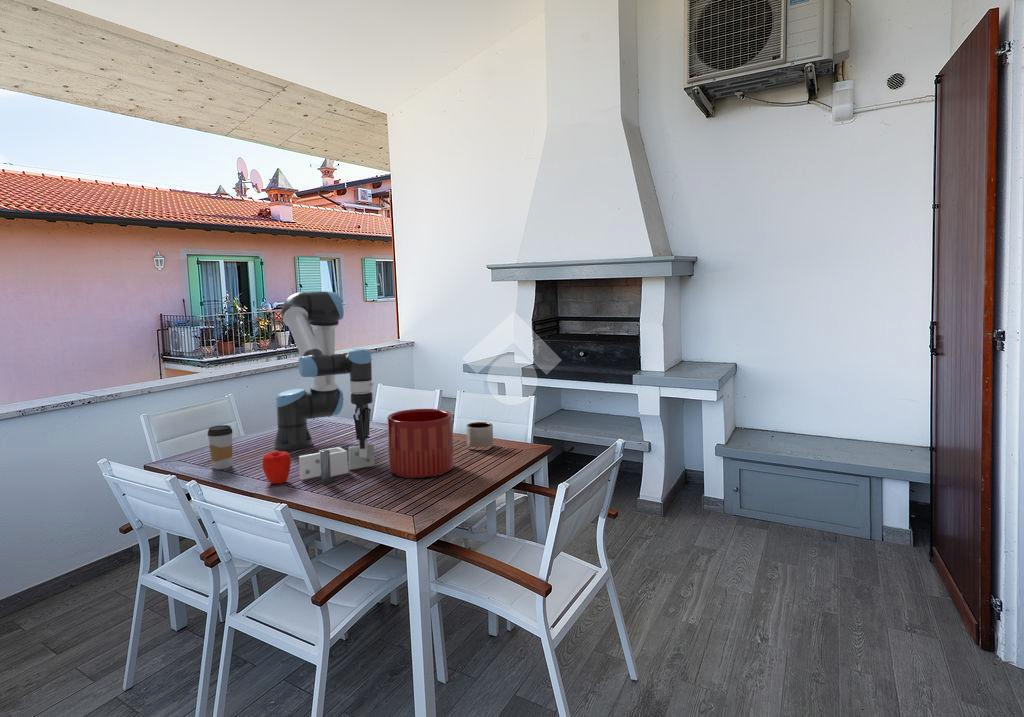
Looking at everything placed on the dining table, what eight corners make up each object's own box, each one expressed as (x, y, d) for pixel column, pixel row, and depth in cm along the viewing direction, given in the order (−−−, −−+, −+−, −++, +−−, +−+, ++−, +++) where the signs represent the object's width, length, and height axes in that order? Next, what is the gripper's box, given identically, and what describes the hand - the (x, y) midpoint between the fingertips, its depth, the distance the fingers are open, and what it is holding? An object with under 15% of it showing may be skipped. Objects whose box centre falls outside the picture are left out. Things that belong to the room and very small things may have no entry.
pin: (320, 482, 195) (318, 450, 194) (329, 480, 197) (327, 449, 196) (323, 484, 193) (321, 452, 192) (332, 482, 195) (330, 451, 193)
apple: (263, 488, 189) (261, 456, 188) (263, 481, 197) (261, 450, 196) (292, 485, 193) (290, 453, 192) (291, 477, 201) (289, 447, 200)
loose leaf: (349, 468, 209) (348, 447, 208) (373, 464, 214) (372, 443, 213) (350, 469, 208) (349, 448, 207) (374, 465, 212) (374, 444, 211)
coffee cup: (240, 464, 216) (237, 425, 214) (222, 471, 208) (219, 430, 207) (222, 462, 219) (220, 424, 217) (204, 469, 211) (201, 429, 209)
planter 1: (399, 484, 193) (397, 425, 190) (381, 466, 213) (379, 412, 211) (463, 473, 203) (462, 417, 201) (440, 457, 223) (439, 406, 221)
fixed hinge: (297, 476, 202) (296, 454, 201) (340, 468, 211) (339, 446, 210) (304, 482, 196) (303, 459, 195) (348, 473, 205) (347, 451, 204)
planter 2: (495, 450, 233) (495, 427, 232) (469, 452, 230) (468, 428, 229) (490, 443, 243) (489, 421, 242) (464, 445, 240) (464, 422, 239)
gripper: (366, 395, 199) (368, 461, 201) (376, 389, 212) (378, 452, 214) (345, 395, 200) (347, 461, 202) (356, 389, 212) (359, 452, 215)
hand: (363, 456), depth 208 cm, fingers closed
